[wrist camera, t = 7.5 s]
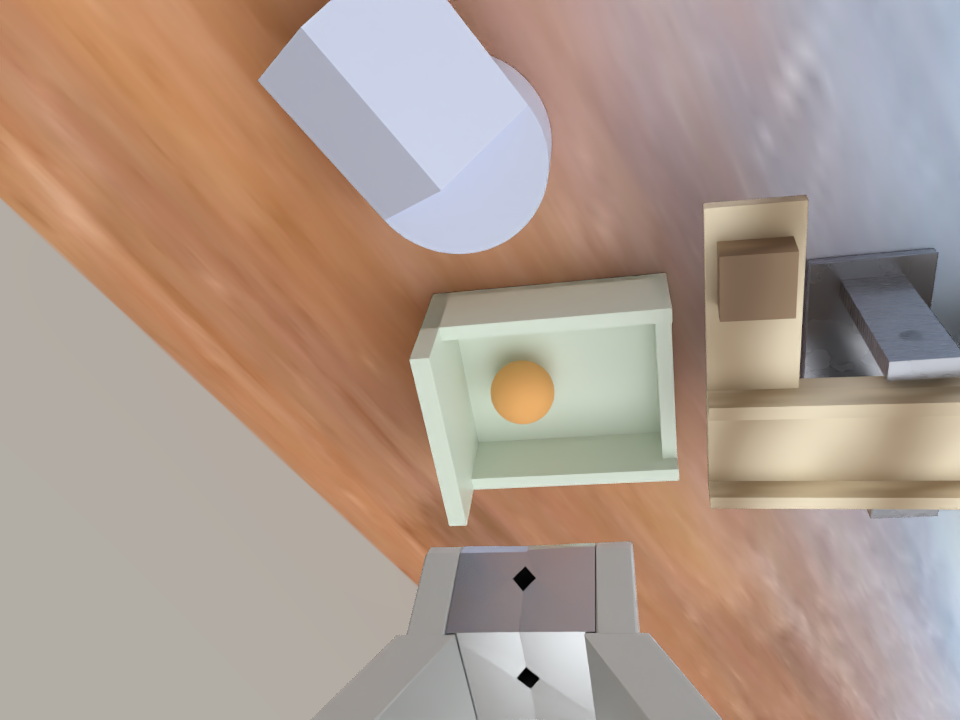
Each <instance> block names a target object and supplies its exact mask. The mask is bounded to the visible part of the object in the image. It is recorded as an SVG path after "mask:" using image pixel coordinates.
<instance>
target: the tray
mask: <svg viewBox="0 0 960 720" xmlns="http://www.w3.org/2000/svg"><path fill="white" fill-rule="evenodd" d="M671 322H673V319H672V305H671V300H670V294H669V288H668V283H667V277H666V273H658V274H647V275H636V276H625V277H614V278H603V279H592V280H581V281H571V282H560V283H549V284H538V285H527V286H516V287H505V288H494V289H483V290H472V291H461V292H450V293H440V294H433V296H432V299H431V302H430V305H429V307H428V310H427V313H426V315H425V318H424V321H423V324H422V326H421V329H420V332H419V335H418V337H417V340H416V343H415V345H414V348H413V351H412V354H411V356H410V359H409V360H410V364H411V368H412V373H413V377H414V381H415V385H416V389H417V393H418V398H419V402H420V406H421V410H422V414H423V418H424V422H425V427H426V431H427V435H428V439H429V443H430V447H431V451H432V456H433V460H434V464H435V468H436V472H437V476H438V481H439V485H440V489H441V493H442V497H443V501H444V505H445V510H446V514H447V518H448V522H449V526H462V525H467V522H468V517H469V512H470V506H471V501H472V496H473V490H475V489H498V488H520V487H543V486H565V485H587V484H610V483H632V482H655V481H677V480H679V468H678V460H677V443H676V419H675V396H674V372H673V349H672V325H671ZM521 360H524V361H531V362H534V363H536V364H538V365H540V366H541V367H543V368H544V369H545V370H546V371H547V372H548V374H549V375H550V377H551V379H552V381H553V385H554V391H555V392H554V400H553V404H552V406H551V408H550V409H549V411H548V412H547V413H546V415H545V416H543V417H542V418H541V419H539V420H538V421H536V422H533V423H529V424H516V423H512V422H510V421H507V420H506V419H504V418H503V417H502V416H501V415H500V414H499V413H498V412H497V411H496V409H495V408H494V406H493V403H492V400H491V385H492V381H493V379H494V377H495V375H496V374H497V372H498V371H499V370H500V369H501V368H502V367H504V366H505V365H507V364H509V363H511V362H514V361H521Z"/></svg>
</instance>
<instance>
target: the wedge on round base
mask: <svg viewBox="0 0 960 720" xmlns="http://www.w3.org/2000/svg"><path fill="white" fill-rule="evenodd" d="M258 81H259V83H260V84H261V85H262V86H263V87H264V88H265V89H266V90H267V91H268V93H269V94H270V95H271V96H272V97H273V98H274V99H275V100H276V101H277V102H278V104H279V105H280V106H281V107H282V108H283V109H284V110H285V111H286V112H287V113H288V115H289V116H290V117H291V118H292V119H293V120H294V121H295V122H296V123H297V125H298V126H299V127H300V128H301V129H302V130H303V131H304V132H305V133H306V134H307V136H308V137H309V138H310V139H311V140H312V141H313V142H314V143H315V144H316V146H317V147H318V148H319V149H320V150H321V151H322V152H323V153H324V154H325V155H326V157H327V158H328V159H329V160H330V161H331V162H332V163H333V164H334V165H335V167H336V168H337V169H338V170H339V171H340V172H341V173H342V174H343V175H344V176H345V178H346V179H347V180H348V181H349V182H350V183H351V184H352V185H353V186H354V187H355V189H356V190H357V191H358V192H359V193H360V194H361V195H362V196H363V197H364V199H365V200H366V201H367V202H368V203H369V204H370V205H371V206H372V207H373V208H374V210H375V211H376V212H377V213H378V214H379V215H380V216H381V217H382V218H383V220H384V221H385V222H386V223H387V224H388V225H390V226H391V227H392V228H393V229H394V230H395V231H396V232H398V233H399V234H400V235H402V236H403V237H404V238H406V239H408V240H410V241H411V242H413V243H415V244H417V245H420V246H422V247H424V248H427V249H430V250H434V251H437V252H443V253H449V254H467V253H475V252H480V251H484V250H488V249H490V248H493V247H496V246H498V245H500V244H502V243H504V242H505V241H507V240H509V239H510V238H512V237H513V236H514V235H516V234H517V233H518V232H519V231H520V230H521V229H522V228H523V227H524V226H526V224H527V223H528V222H529V221H530V219H531V218H532V217H533V216H534V214H535V212H536V210H537V209H538V207H539V205H540V203H541V201H542V198H543V196H544V193H545V189H546V185H547V181H548V174H549V167H550V160H551V151H552V133H551V128H550V122H549V119H548V115H547V112H546V109H545V107H544V105H543V103H542V101H541V99H540V97H539V96H538V94H537V93H536V91H535V89H534V88H533V87H532V85H531V84H530V83H529V82H528V81H527V80H526V79H525V77H523V76H522V75H521V74H520V73H519V72H518V71H517V70H515V69H514V68H513V67H511V66H510V65H508V64H506V63H505V62H503V61H501V60H499V59H497V58H495V57H493V56H490V55H489V54H488V52H487V51H486V50H485V49H484V47H483V46H482V45H481V43H480V42H479V41H478V39H477V38H476V37H475V36H474V34H473V33H472V32H471V30H470V29H469V28H468V27H467V25H466V24H465V23H464V21H463V20H462V19H461V17H460V16H459V15H458V14H457V12H456V11H455V10H454V8H453V7H452V6H451V5H450V3H449V2H448V1H447V0H331V1H329V2H328V3H327V4H326V5H325V6H324V7H323V8H322V9H320V10H319V11H318V12H317V13H316V14H315V15H314V16H313V17H312V18H310V19H309V20H308V21H307V22H306V23H305V24H304V25H303V26H301V27H300V29H299V30H298V31H297V32H296V34H295V35H294V36H293V37H292V39H291V40H290V41H289V42H288V43H287V45H286V46H285V47H284V48H283V50H282V51H281V52H280V53H279V55H278V56H277V57H276V58H275V59H274V61H273V62H272V63H271V64H270V66H269V67H268V68H267V69H266V71H265V72H264V73H263V74H262V76H261V77H260V78H259V79H258Z"/></svg>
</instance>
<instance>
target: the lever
mask: <svg viewBox="0 0 960 720" xmlns="http://www.w3.org/2000/svg"><path fill="white" fill-rule="evenodd" d="M808 203H809V200H808V198H807V195H797V196H785V197H773V198H761V199H749V200H737V201H725V202H713V203H703V219H704V275H705V332H706V398H707V454H708V486H709V498H710V508H726V509H933V510H960V377H948V378H932V379H916V380H901V381H887V380H886V379H885V377H884V376H862V377H830V378H799V372H800V353H801V335H802V316H803V297H804V278H805V259H806V240H807V222H808Z"/></svg>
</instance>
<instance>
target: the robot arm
mask: <svg viewBox="0 0 960 720" xmlns="http://www.w3.org/2000/svg"><path fill="white" fill-rule="evenodd" d="M536 719H537V720H722V719H721V717H720V716H719V715H718V714H717V713H716V711H715V710H714V709H713V708H712V707H711V706H710V704H709V703H708V702H707V701H706V700H705V699H704V697H703V696H702V695H701V694H700V693H699V692H698V690H697V689H696V688H695V687H694V686H693V684H692V683H691V682H690V681H689V680H688V679H687V677H686V676H685V675H684V674H683V673H682V672H681V670H680V669H679V668H678V667H677V666H676V665H675V663H674V662H673V661H672V660H671V659H670V657H669V656H668V655H667V654H666V653H665V652H664V650H663V649H662V648H661V647H660V646H659V645H658V643H657V642H656V641H655V640H654V639H653V638H652V636H651V635H650V634H649V633H640V628H639V616H638V604H637V591H636V579H635V567H634V555H633V545H632V542H630V541H628V542H605V543H597V545H596V543H584V544H559V545H534V546H473V547H431V548H430V550H429V551H428V553H427V554H426V557H425V561H424V565H423V569H422V573H421V577H420V581H419V585H418V590H417V594H416V598H415V602H414V606H413V610H412V614H411V618H410V623H409V627H408V631H407V635H398V636H396V637H395V638H394V639H393V640H392V641H391V642H390V643H389V644H388V645H387V646H386V647H385V648H384V649H382V650H381V651H380V652H379V653H378V654H377V655H376V656H375V657H374V658H373V659H372V660H371V661H370V662H369V663H368V664H367V665H366V666H365V667H364V668H363V669H362V670H361V671H360V672H359V673H358V674H357V675H356V676H355V677H354V678H353V679H352V680H351V681H350V682H349V683H348V684H347V685H346V686H345V687H344V688H343V689H342V690H341V691H340V692H339V693H338V694H336V695H335V697H333V698H332V699H331V700H330V701H329V702H328V703H327V704H326V705H325V706H324V707H323V708H322V709H321V710H320V711H319V712H318V713H317V714H316V715H315V716H314V717H313V718H312V719H311V720H536Z"/></svg>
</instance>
